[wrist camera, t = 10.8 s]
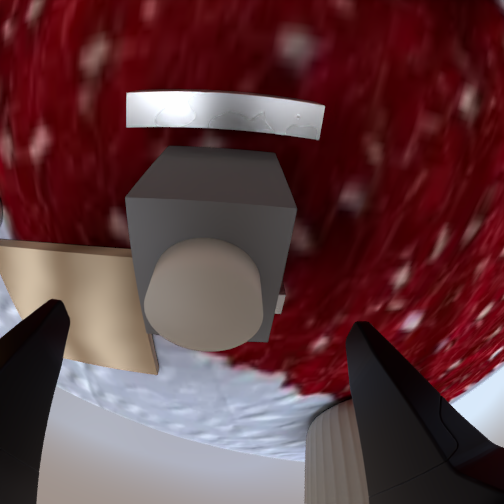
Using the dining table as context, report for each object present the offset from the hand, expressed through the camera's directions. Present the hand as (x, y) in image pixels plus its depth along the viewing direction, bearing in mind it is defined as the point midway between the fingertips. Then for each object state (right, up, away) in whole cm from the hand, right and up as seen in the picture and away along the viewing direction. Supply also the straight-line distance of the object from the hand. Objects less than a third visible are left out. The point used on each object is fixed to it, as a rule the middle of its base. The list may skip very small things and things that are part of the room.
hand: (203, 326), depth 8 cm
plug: (0, +4, +7) cm, 8 cm away
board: (-12, -2, +11) cm, 16 cm away
